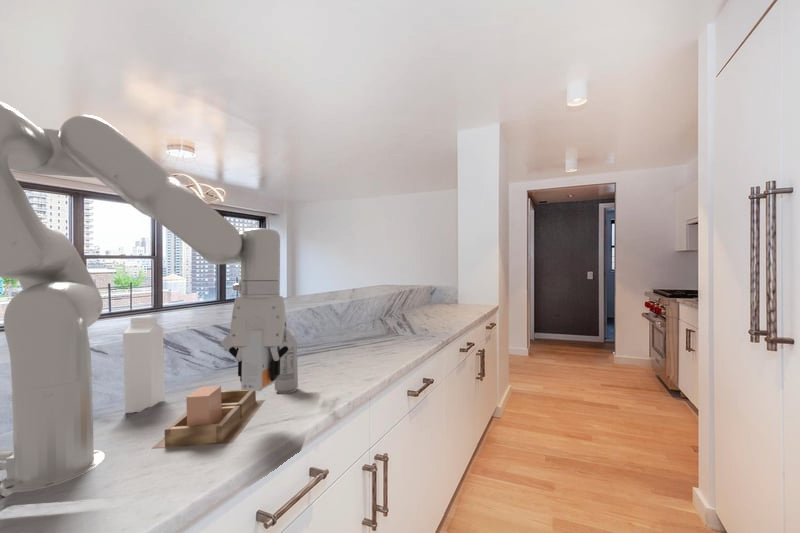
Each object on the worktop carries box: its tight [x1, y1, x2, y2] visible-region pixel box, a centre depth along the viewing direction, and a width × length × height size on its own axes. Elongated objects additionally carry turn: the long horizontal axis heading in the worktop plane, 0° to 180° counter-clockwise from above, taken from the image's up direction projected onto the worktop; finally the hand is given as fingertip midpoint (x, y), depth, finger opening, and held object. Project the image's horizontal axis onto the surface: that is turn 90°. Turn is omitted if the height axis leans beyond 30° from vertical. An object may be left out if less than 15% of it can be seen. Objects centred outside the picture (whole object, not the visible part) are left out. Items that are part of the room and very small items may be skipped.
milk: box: [122, 316, 166, 414], centre depth 90 cm, size 6×6×22 cm
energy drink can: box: [274, 333, 299, 395], centre depth 100 cm, size 6×6×15 cm
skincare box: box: [240, 329, 275, 392], centre depth 75 cm, size 6×4×12 cm
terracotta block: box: [185, 385, 222, 426], centre depth 73 cm, size 4×6×8 cm, turn 5°
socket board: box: [152, 389, 266, 449], centre depth 78 cm, size 14×22×4 cm, turn 5°
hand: (259, 378), depth 75 cm, fingers closed on skincare box, 5 cm apart
